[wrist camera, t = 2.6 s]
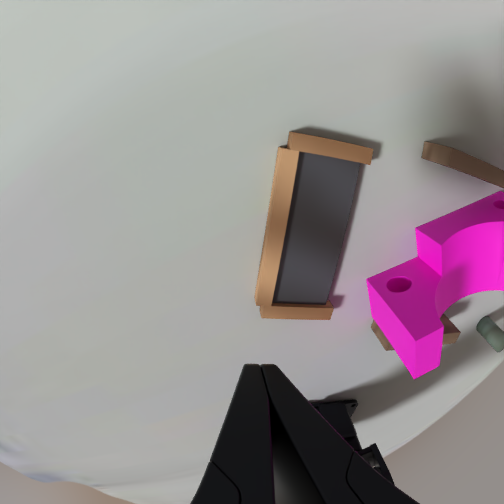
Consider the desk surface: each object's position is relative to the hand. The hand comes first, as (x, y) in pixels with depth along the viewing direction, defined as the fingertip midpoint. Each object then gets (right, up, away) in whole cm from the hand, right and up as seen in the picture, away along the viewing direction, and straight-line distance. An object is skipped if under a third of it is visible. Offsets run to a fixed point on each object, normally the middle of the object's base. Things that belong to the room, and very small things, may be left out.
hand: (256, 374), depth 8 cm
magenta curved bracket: (+15, +3, +14) cm, 21 cm away
